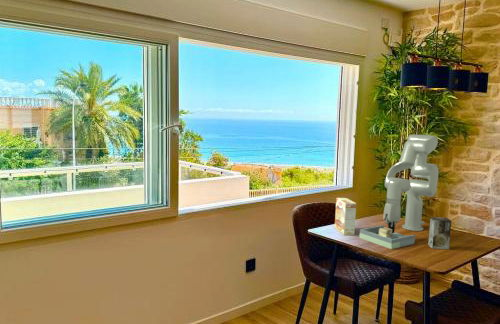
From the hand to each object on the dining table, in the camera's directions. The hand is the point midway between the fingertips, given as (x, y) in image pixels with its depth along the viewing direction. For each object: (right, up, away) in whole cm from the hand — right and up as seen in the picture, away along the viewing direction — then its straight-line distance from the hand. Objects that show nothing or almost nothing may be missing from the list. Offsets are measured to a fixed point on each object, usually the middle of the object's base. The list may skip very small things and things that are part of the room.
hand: (391, 232), depth 226 cm
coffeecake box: (-24, -2, +14) cm, 27 cm away
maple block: (-4, -1, -2) cm, 5 cm away
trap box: (-3, -4, -1) cm, 5 cm away
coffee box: (+22, -6, -10) cm, 25 cm away
